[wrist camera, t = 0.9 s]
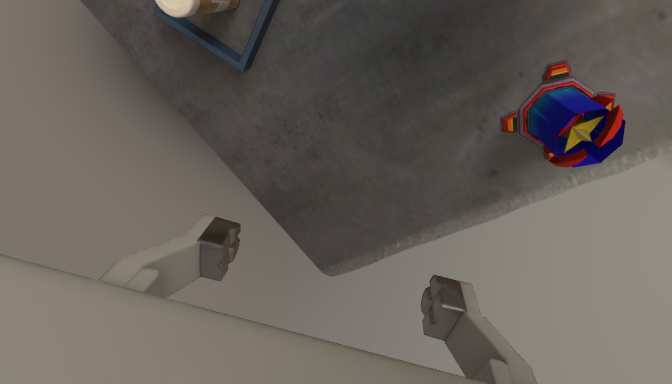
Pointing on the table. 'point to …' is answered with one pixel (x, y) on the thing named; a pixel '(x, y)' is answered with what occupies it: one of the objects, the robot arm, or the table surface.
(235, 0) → the sprinkles bottle
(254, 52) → the square frame
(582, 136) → the fantasy tower
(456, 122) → the table surface
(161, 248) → the robot arm
